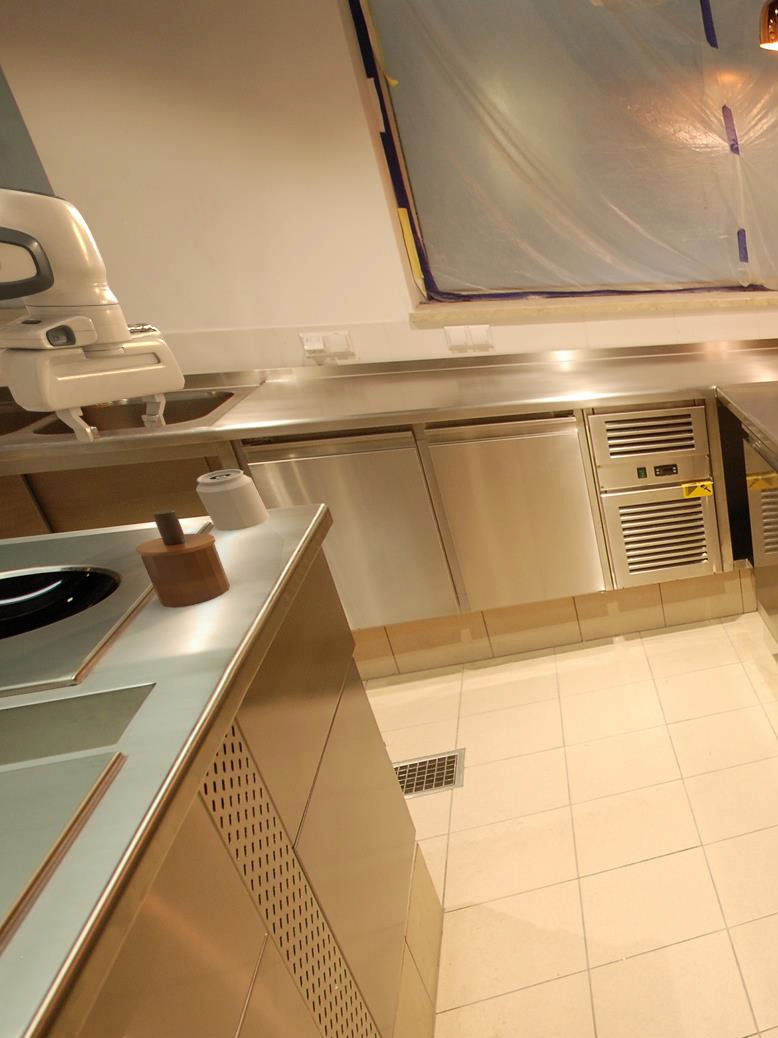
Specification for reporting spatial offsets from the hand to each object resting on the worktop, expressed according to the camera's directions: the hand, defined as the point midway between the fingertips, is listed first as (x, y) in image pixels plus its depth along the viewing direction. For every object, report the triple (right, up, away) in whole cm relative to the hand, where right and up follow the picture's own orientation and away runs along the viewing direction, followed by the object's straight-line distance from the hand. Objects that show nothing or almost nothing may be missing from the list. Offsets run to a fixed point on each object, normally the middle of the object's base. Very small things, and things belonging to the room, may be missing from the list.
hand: (124, 434), depth 116 cm
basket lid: (+6, -15, +2) cm, 16 cm away
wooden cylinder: (+5, -23, +6) cm, 24 cm away
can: (-7, -11, +29) cm, 32 cm away
